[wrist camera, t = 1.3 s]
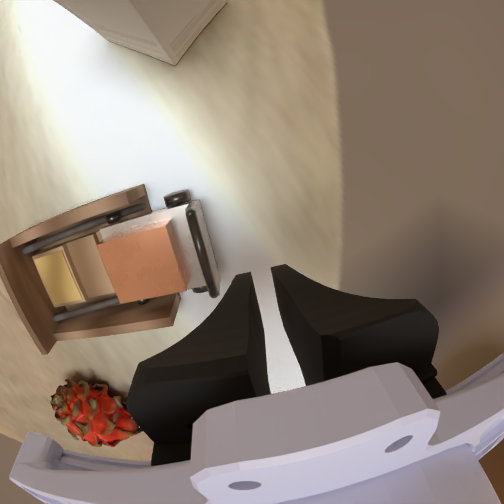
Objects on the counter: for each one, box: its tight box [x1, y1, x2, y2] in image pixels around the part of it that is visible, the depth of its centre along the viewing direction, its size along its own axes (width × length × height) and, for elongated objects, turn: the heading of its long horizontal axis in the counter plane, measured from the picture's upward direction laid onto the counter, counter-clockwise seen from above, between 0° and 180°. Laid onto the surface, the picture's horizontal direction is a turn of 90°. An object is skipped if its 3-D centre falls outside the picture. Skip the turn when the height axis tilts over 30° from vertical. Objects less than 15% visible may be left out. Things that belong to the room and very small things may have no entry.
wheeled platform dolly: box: [97, 190, 220, 305], centre depth 19 cm, size 8×8×5 cm
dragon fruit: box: [50, 379, 143, 447], centre depth 24 cm, size 8×8×12 cm
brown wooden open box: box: [0, 184, 181, 355], centre depth 18 cm, size 13×10×6 cm
